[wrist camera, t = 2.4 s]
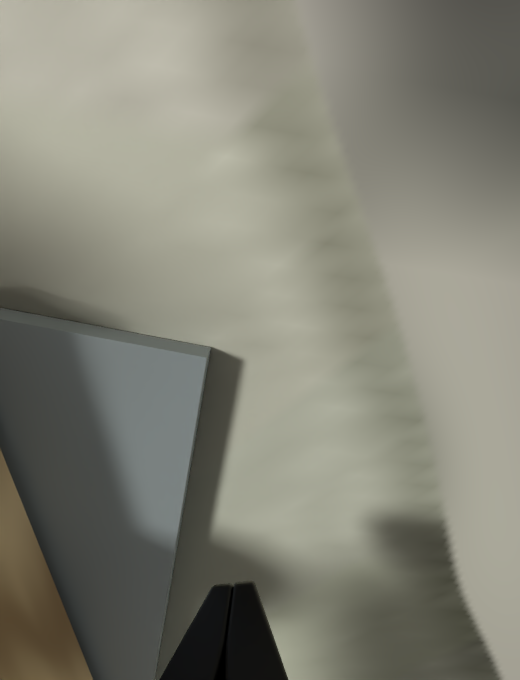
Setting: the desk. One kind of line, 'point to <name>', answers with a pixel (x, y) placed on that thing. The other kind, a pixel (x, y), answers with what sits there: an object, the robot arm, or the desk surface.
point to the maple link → (31, 602)
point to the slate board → (102, 472)
